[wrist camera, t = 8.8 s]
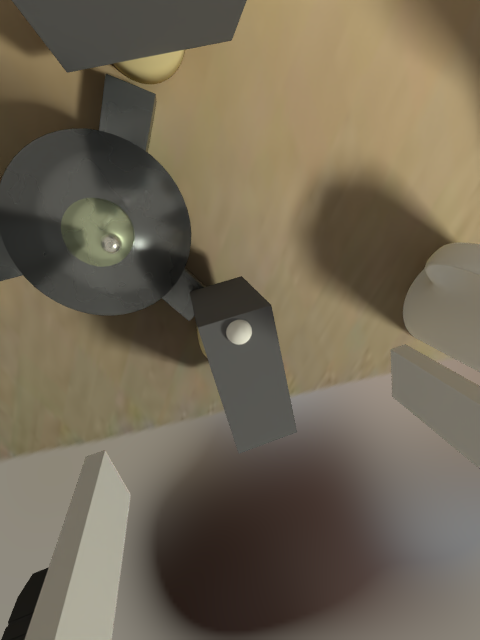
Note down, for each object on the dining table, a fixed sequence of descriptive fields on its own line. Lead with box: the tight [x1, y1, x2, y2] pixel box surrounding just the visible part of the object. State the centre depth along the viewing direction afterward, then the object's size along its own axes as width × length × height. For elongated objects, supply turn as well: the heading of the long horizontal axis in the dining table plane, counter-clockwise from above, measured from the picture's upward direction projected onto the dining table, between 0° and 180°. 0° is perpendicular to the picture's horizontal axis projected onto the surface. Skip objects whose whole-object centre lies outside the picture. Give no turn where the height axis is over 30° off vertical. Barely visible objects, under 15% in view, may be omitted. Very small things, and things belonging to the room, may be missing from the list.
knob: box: [189, 276, 297, 453], centre depth 18 cm, size 4×8×9 cm, turn 13°
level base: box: [0, 74, 206, 321], centre depth 16 cm, size 14×12×5 cm
